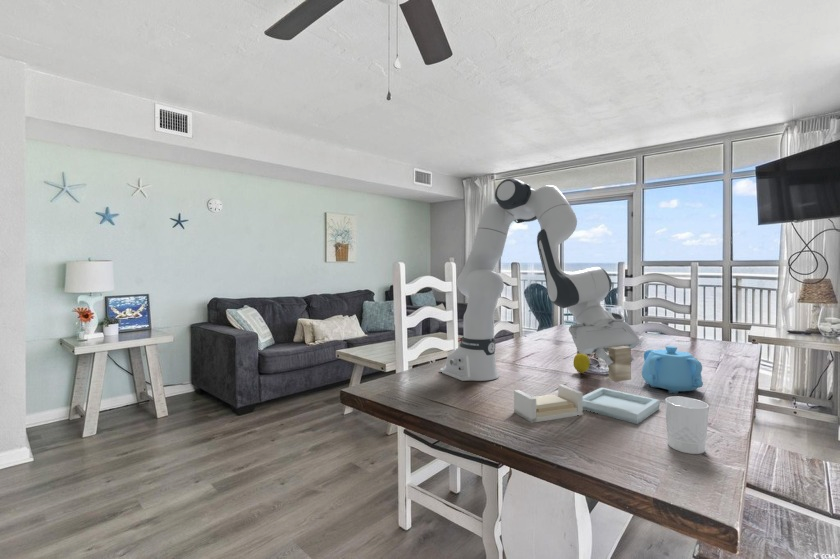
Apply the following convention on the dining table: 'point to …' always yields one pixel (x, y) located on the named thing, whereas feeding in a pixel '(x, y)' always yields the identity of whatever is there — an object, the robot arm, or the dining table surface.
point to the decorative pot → (672, 370)
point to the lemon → (581, 362)
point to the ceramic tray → (620, 405)
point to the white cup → (686, 424)
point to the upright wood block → (620, 363)
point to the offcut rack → (549, 405)
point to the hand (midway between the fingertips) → (621, 362)
